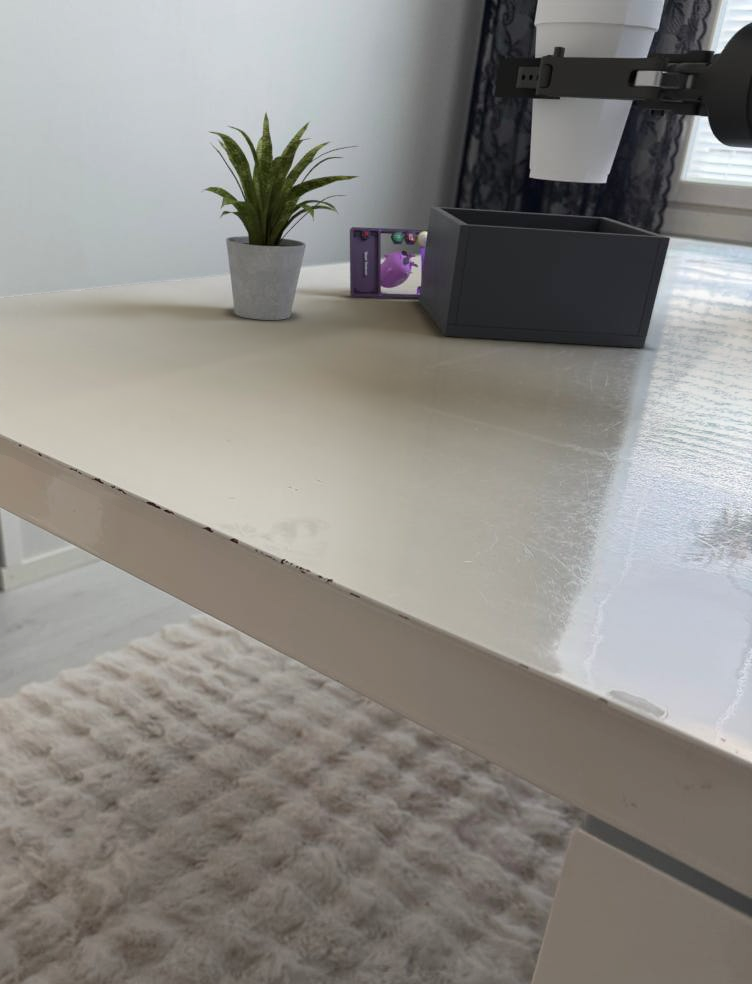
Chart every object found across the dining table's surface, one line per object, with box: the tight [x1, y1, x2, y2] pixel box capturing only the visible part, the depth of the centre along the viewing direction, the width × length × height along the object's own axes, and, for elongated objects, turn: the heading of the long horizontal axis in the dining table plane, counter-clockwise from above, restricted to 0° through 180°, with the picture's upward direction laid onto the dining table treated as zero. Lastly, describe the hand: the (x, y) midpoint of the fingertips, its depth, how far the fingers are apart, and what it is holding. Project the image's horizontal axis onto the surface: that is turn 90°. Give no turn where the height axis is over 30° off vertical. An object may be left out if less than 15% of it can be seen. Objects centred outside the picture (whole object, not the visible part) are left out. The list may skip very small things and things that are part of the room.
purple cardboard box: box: [349, 226, 428, 299], centre depth 101 cm, size 7×5×9 cm
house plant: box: [201, 111, 359, 321], centre depth 82 cm, size 14×14×16 cm
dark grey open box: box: [418, 206, 671, 349], centre depth 89 cm, size 18×18×9 cm
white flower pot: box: [528, 0, 666, 184], centre depth 76 cm, size 10×9×13 cm
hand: (544, 82), depth 79 cm, fingers closed on white flower pot, 9 cm apart
